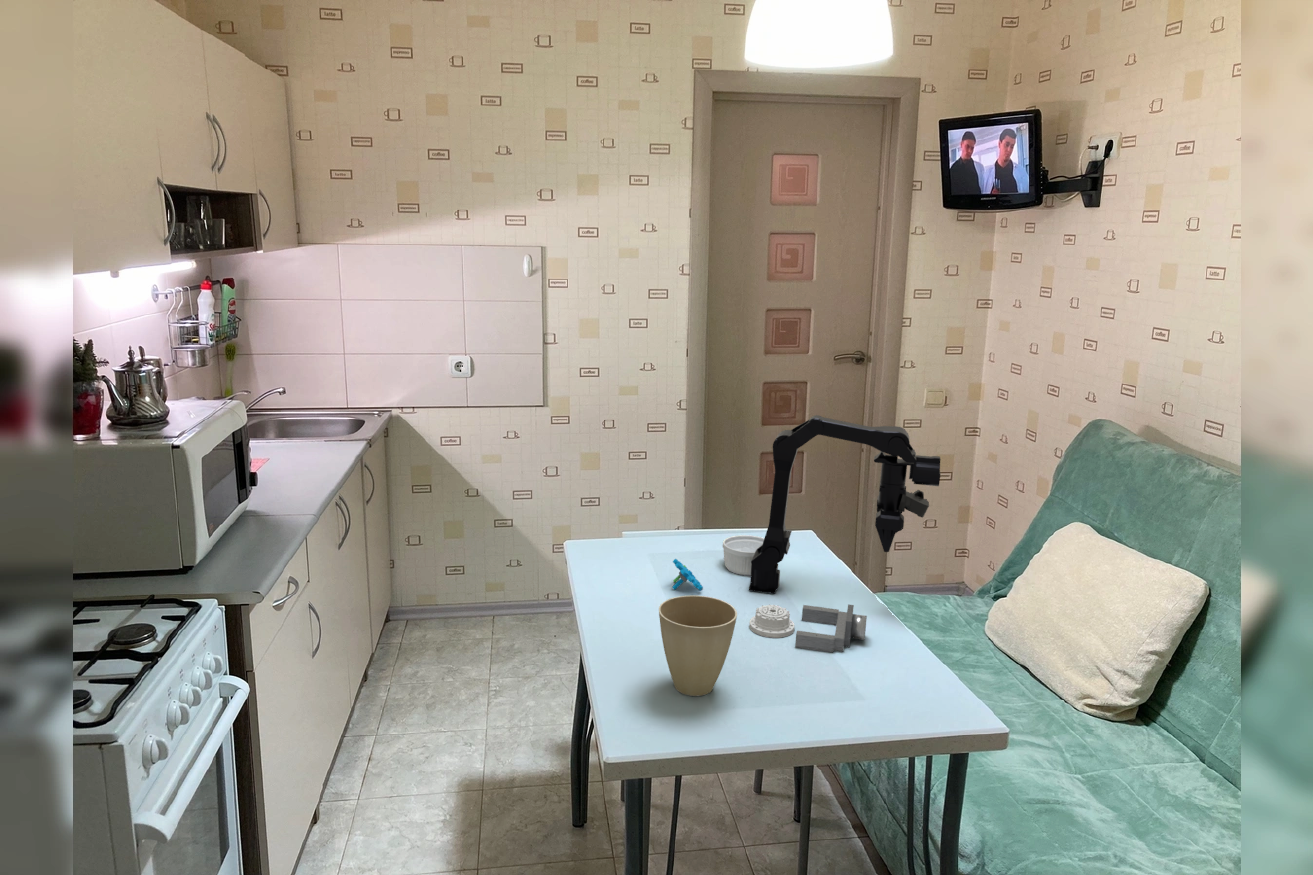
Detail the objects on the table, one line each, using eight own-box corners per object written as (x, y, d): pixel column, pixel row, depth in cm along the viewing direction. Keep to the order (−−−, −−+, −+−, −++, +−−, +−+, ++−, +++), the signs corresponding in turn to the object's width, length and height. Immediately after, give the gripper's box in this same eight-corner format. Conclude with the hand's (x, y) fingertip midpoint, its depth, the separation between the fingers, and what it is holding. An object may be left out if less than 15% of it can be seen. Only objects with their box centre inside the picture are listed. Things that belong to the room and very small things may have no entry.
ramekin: (712, 562, 242) (713, 537, 240) (755, 556, 247) (757, 532, 246) (737, 580, 230) (738, 554, 229) (782, 574, 236) (783, 548, 234)
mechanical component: (747, 636, 200) (792, 641, 198) (748, 617, 199) (794, 622, 197) (751, 617, 210) (795, 622, 208) (752, 599, 209) (796, 604, 207)
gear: (707, 591, 219) (678, 562, 218) (689, 608, 219) (660, 579, 218) (702, 579, 230) (674, 551, 229) (685, 595, 230) (657, 568, 229)
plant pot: (729, 710, 169) (733, 631, 165) (649, 701, 172) (652, 622, 168) (736, 672, 183) (740, 598, 180) (662, 664, 186) (665, 591, 182)
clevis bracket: (795, 647, 195) (797, 621, 194) (802, 616, 210) (804, 592, 209) (863, 656, 192) (865, 630, 190) (865, 625, 207) (868, 600, 206)
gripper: (930, 496, 202) (923, 563, 205) (927, 474, 219) (921, 536, 223) (878, 491, 204) (872, 557, 208) (879, 470, 222) (874, 531, 225)
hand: (886, 545), depth 216 cm, fingers open, 9 cm apart
